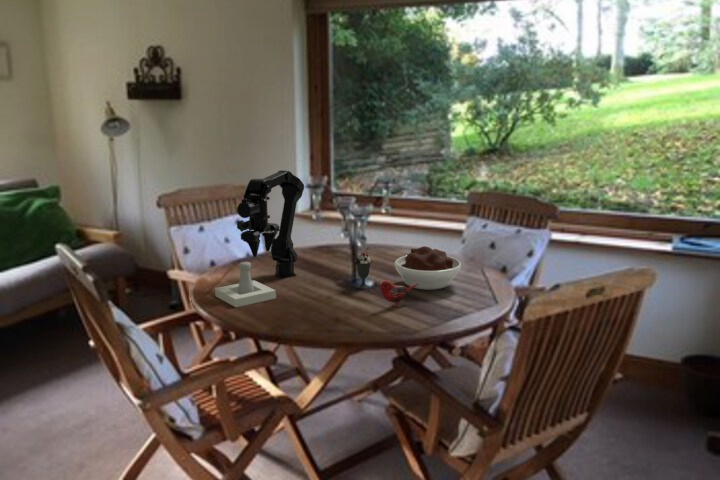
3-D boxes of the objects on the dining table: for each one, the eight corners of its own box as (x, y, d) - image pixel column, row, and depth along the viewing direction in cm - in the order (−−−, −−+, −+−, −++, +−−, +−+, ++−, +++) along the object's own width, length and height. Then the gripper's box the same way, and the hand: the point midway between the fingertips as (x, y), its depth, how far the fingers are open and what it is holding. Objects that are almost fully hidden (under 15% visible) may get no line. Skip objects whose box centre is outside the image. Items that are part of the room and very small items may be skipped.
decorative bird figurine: (376, 309, 222) (376, 281, 219) (415, 299, 232) (415, 272, 230) (382, 311, 220) (382, 283, 217) (420, 301, 230) (421, 274, 228)
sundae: (374, 285, 248) (374, 247, 245) (368, 290, 242) (368, 251, 239) (358, 283, 250) (358, 246, 247) (352, 288, 244) (352, 250, 241)
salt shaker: (243, 300, 231) (242, 265, 228) (235, 297, 235) (233, 262, 232) (257, 297, 235) (256, 262, 232) (248, 293, 239) (247, 259, 236)
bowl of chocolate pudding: (473, 285, 248) (474, 247, 244) (433, 301, 230) (434, 260, 227) (421, 273, 264) (422, 237, 261) (381, 286, 247) (381, 248, 243)
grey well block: (254, 287, 246) (254, 280, 245) (276, 298, 233) (275, 290, 233) (215, 296, 236) (215, 288, 236) (235, 307, 224) (235, 299, 223)
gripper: (254, 207, 252) (255, 246, 255) (227, 216, 235) (229, 257, 238) (279, 209, 247) (280, 249, 251) (253, 218, 231) (255, 260, 234)
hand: (261, 253), depth 244 cm, fingers open, 9 cm apart
